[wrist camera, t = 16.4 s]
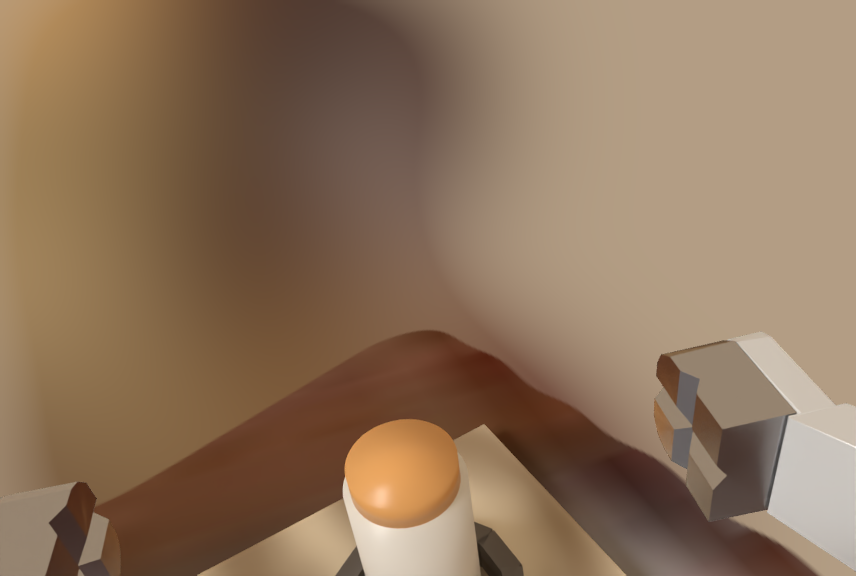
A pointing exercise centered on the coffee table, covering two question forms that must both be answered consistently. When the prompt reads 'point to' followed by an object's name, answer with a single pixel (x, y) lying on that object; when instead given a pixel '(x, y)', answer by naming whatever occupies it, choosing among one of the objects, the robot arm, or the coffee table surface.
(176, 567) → the coffee table surface
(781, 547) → the coffee table surface
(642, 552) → the coffee table surface
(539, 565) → the board
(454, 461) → the bottle
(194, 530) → the coffee table surface
